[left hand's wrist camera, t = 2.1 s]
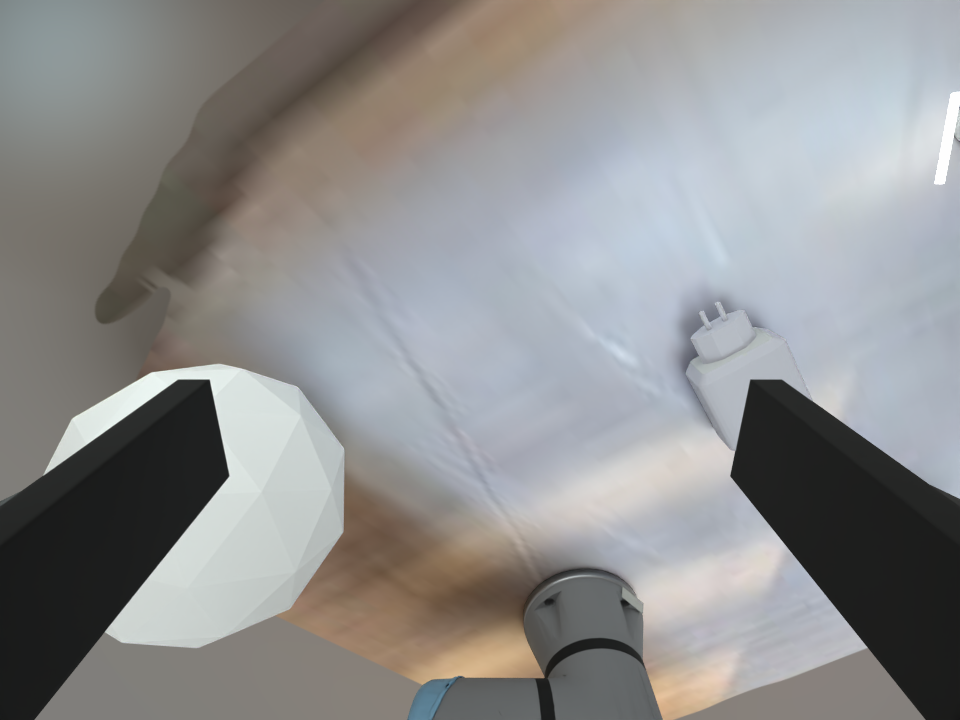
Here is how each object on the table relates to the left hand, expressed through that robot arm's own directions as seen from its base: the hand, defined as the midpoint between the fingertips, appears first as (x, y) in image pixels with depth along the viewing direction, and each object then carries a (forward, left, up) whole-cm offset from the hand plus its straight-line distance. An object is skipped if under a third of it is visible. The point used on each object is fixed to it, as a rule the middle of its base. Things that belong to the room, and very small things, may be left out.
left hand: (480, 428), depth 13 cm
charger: (-13, -26, -40) cm, 49 cm away
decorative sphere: (-22, +25, -40) cm, 52 cm away
